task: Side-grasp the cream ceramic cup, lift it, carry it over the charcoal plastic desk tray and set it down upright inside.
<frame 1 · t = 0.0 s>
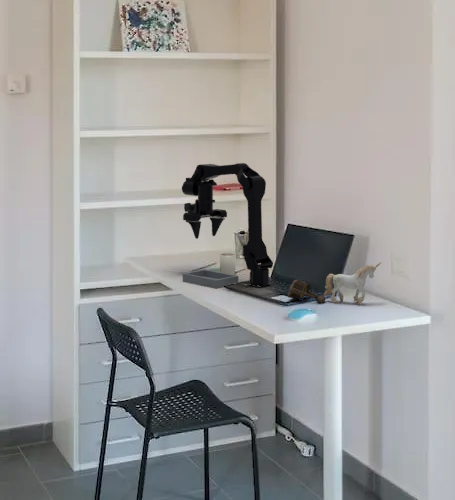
hand: (205, 237, 342), 15 cm above the table, fingers open, 9 cm apart
brown wooden mallet: (305, 302, 300), on the table
ceramic cup: (227, 274, 344), on the table
unicorn figurine: (352, 301, 300), on the table
desk tray: (210, 282, 329), on the table
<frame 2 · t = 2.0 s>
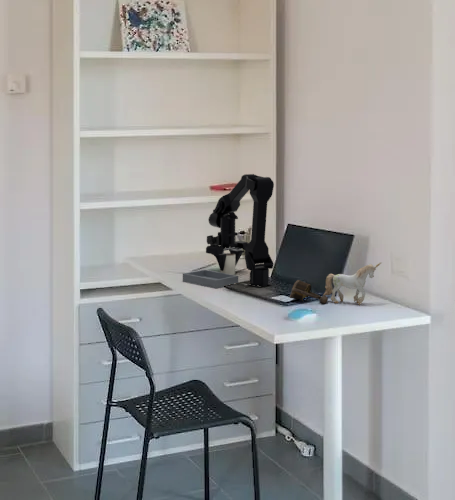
hand: (227, 269, 344), 2 cm above the table, fingers closed on ceramic cup, 6 cm apart
brown wooden mallet: (307, 302, 299), on the table
ceramic cup: (227, 274, 344), on the table, touching gripper
everything else where it was.
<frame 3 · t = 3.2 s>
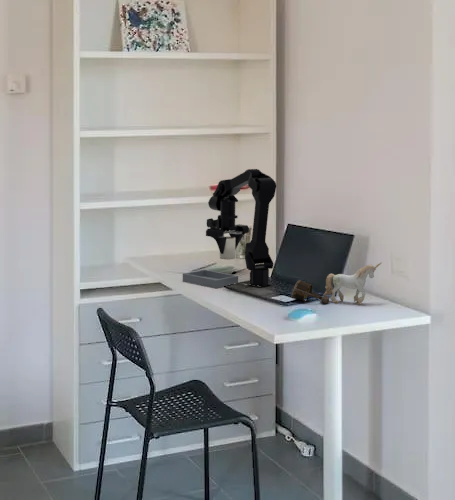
hand: (227, 252, 343), 9 cm above the table, fingers closed on ceramic cup, 6 cm apart
ceramic cup: (227, 258, 343), point 7 cm above the table, touching gripper
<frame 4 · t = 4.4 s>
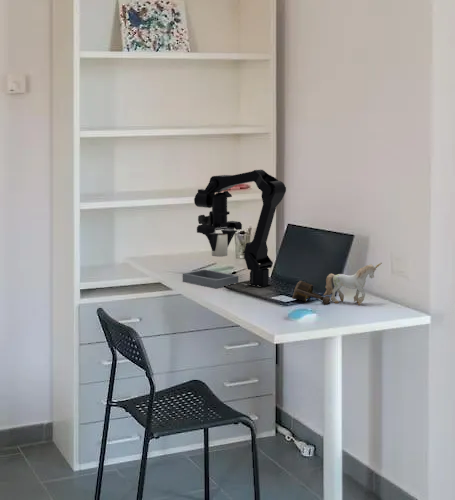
hand: (219, 249, 335), 11 cm above the table, fingers closed on ceramic cup, 6 cm apart
ceramic cup: (219, 255, 335), point 9 cm above the table, touching gripper
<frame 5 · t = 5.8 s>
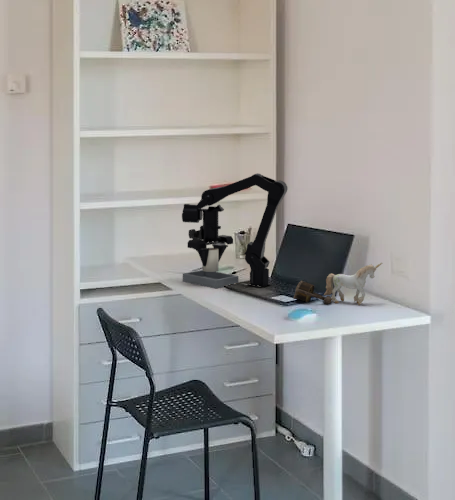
hand: (210, 265, 328), 7 cm above the table, fingers closed on ceramic cup, 6 cm apart
ceramic cup: (210, 270, 328), point 5 cm above the table, touching gripper
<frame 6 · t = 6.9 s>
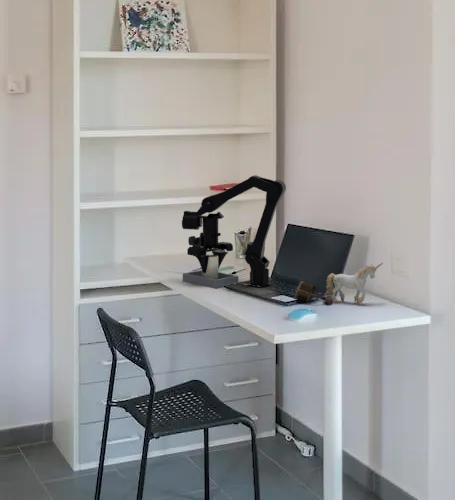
hand: (210, 271, 329), 4 cm above the table, fingers closed on ceramic cup, 6 cm apart
ceramic cup: (210, 277, 329), point 2 cm above the table, touching gripper
when the fingers open (4 cm above the table, at t = 7.1 s): ceramic cup drops 1 cm, resting on desk tray.
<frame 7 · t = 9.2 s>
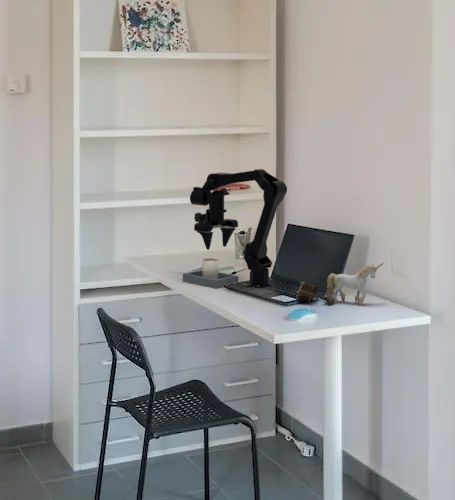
hand: (216, 247, 333), 12 cm above the table, fingers open, 9 cm apart
ceramic cup: (210, 281, 329), point 1 cm above the table, touching desk tray
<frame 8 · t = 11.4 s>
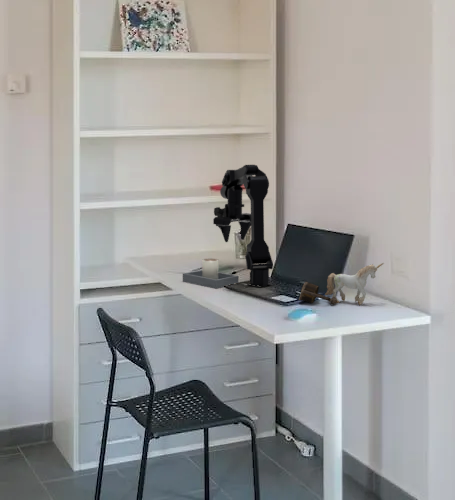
hand: (234, 240, 351), 12 cm above the table, fingers open, 9 cm apart
brown wooden mallet: (316, 304, 297), on the table
everything else where it was.
at the end: ceramic cup inside the target area on the desk tray (0.0 cm from its centre), point 0.6 cm above the desk tray's base; ceramic cup tilted 0°; the gripper is holding nothing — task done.
